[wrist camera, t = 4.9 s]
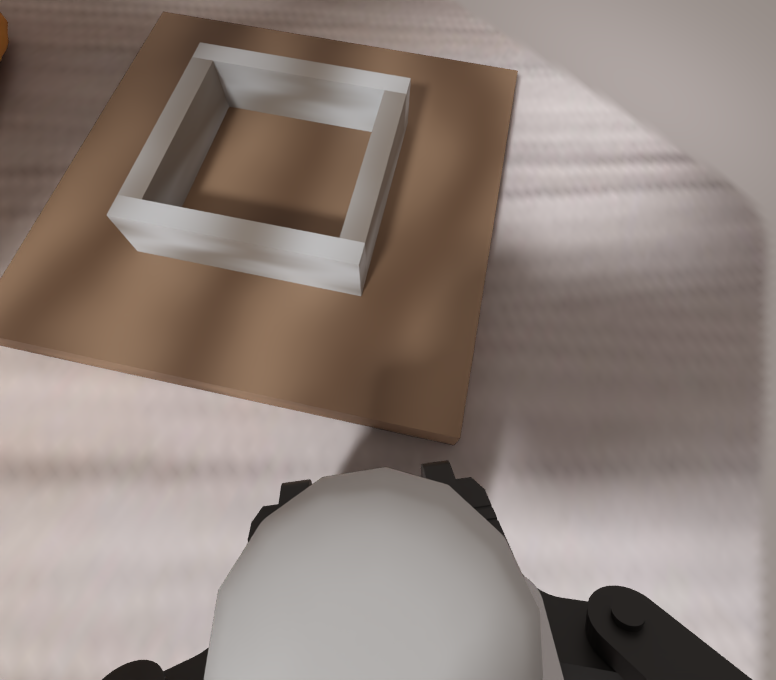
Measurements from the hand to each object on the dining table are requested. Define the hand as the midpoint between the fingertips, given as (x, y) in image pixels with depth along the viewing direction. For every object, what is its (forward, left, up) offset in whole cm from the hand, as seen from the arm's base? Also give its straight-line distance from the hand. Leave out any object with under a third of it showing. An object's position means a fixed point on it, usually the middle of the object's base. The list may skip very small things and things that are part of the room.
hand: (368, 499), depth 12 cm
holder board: (-7, +13, -6) cm, 16 cm away
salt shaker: (+1, -2, -6) cm, 6 cm away
